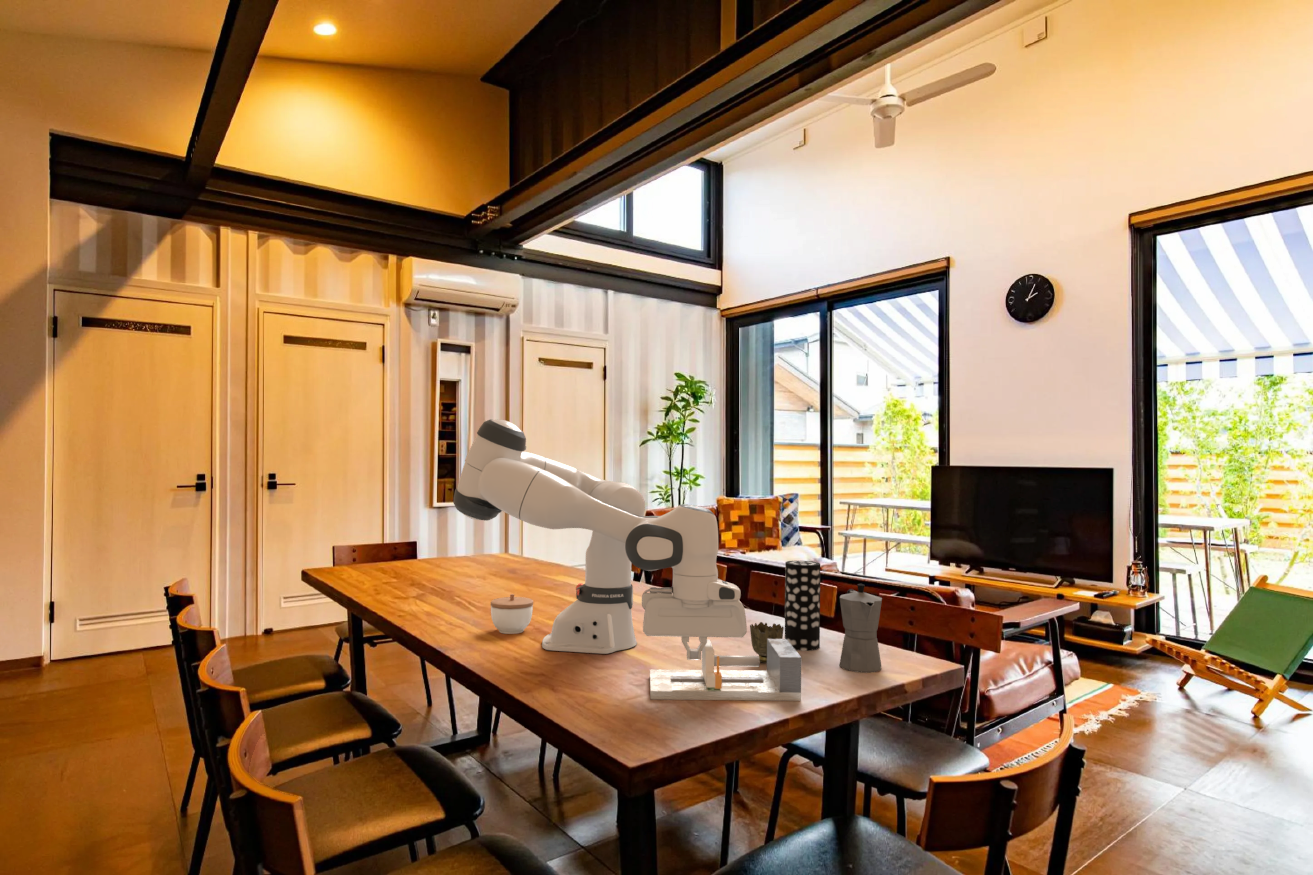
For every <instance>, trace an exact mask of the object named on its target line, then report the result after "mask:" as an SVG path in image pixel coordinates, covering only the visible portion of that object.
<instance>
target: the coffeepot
mask: <svg viewBox="0 0 1313 875" xmlns="http://www.w3.org/2000/svg"><path fill="white" fill-rule="evenodd" d="M856 586H857V590H858V591H856V590H854V589H853V588H849V589H848V590H847V592H846V593H845V594H843V593H842V594H841V595H840V596H839V603H840V612H841V618H842V626H843V628H844V636H843V641H842V648H841V653H840V659H839V667H841V668H842V669H844V670H847V671H850V672H854V673H862V674H863V673H868V674H869V673H877V672H879V671H881V670H882V661H881V654H880V650H879V649H880V648H879V643H878V638H877V633H878V632H877V631H878V628H879V621H880V616H881V609H882V608H881V607H882V602H883V598H882V597H881V596H877V595H874V594H872V593H871V594H870V593H867V592H864V591H865V584H863V583H857V585H856Z"/></svg>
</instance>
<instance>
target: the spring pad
mask: <svg viewBox="0 0 1313 875" xmlns="http://www.w3.org/2000/svg"><path fill="white" fill-rule="evenodd" d="M717 656H719V667H753V668H754V667H755V668H759V667H760V663H761V662H760V660H759V655H721V654H720V655H718V654H717V655H715V649H714V647H713V645H712V642H711V639H707V643H706V645H705V647H704V648H703V650H702V651H701V670H702V673H703V676H704V680H705V683H706V687H715V674H714V670H715V667H717Z"/></svg>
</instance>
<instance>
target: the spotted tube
mask: <svg viewBox="0 0 1313 875" xmlns="http://www.w3.org/2000/svg"><path fill="white" fill-rule="evenodd" d="M784 570H785V571H784V572H785V573H784V574H785V576H784V579H785V580H784V587H785V588H784V639H787V640H788V641H789V643H790V644H791V645H792V646H793V648H794V649H795V650H796V651H801V652H803V651H804V652H807V651H808V652H809V651H811V652H812V651H818V650H819V649H820V648H821V647H820V646H821V645H820V644H821V643H820V641H821V640H820V639H821V637H820V635H821V631H820V630H821V563H820V562H817V561H811V560H788V561H785V568H784Z"/></svg>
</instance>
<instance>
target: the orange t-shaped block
mask: <svg viewBox="0 0 1313 875" xmlns="http://www.w3.org/2000/svg"><path fill="white" fill-rule="evenodd" d="M716 670H717V672H714V674H715V689H722V675H721V672H719V670H720V666H719V656H717V666H716Z"/></svg>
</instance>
